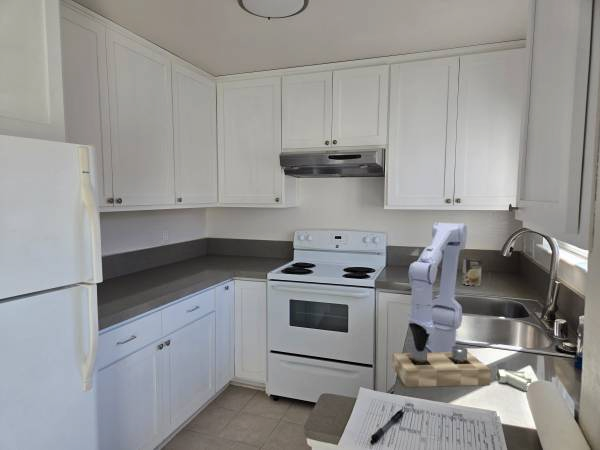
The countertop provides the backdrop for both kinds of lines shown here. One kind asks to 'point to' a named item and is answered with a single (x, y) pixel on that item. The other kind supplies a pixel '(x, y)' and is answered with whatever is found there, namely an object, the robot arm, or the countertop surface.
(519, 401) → the countertop surface
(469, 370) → the socket block
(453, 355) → the peg
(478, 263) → the coffee box
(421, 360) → the peg
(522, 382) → the pipe fitting
